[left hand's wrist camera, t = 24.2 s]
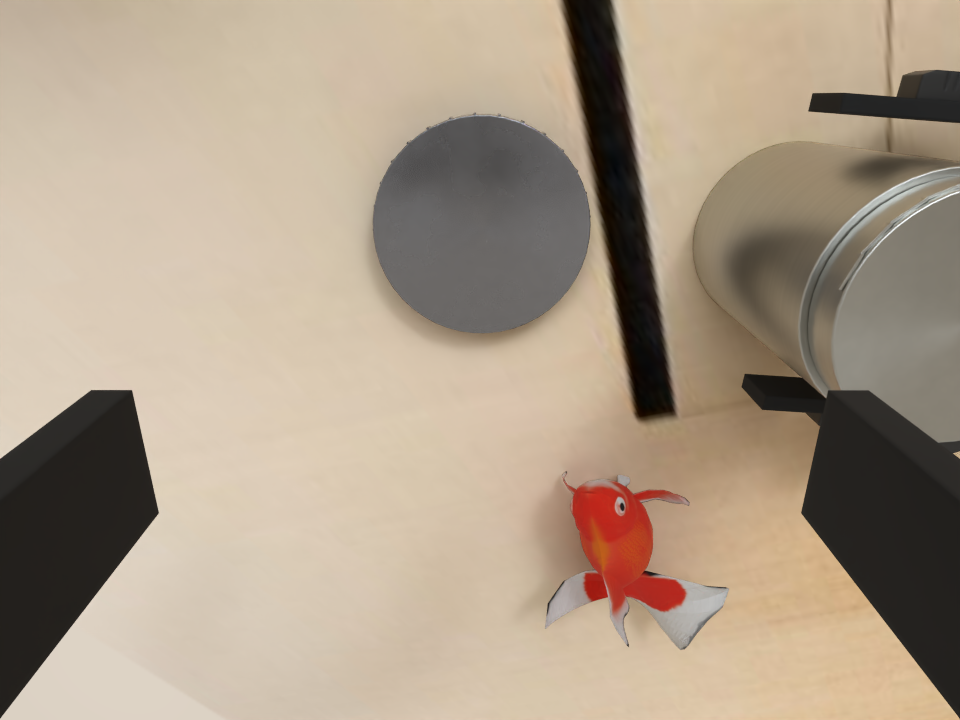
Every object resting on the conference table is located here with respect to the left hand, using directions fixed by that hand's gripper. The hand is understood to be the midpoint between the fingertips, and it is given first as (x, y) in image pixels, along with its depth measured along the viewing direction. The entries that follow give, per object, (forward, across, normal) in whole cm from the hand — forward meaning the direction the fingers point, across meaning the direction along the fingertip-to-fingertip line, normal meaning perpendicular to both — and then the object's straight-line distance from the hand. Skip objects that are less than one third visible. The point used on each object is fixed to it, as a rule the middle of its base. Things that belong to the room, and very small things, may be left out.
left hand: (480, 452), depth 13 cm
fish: (+26, +10, -20) cm, 34 cm away
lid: (+24, 0, 0) cm, 24 cm away
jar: (+26, +17, -1) cm, 31 cm away
